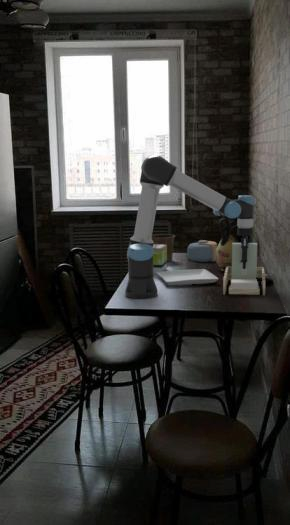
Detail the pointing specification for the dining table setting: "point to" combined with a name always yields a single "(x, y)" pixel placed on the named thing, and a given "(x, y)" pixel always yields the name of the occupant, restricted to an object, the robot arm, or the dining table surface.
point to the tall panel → (250, 261)
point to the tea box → (159, 258)
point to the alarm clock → (202, 251)
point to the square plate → (187, 277)
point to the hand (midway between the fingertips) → (244, 273)
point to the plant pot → (165, 243)
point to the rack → (229, 276)
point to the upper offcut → (244, 284)
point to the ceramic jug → (225, 244)
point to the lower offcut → (244, 291)
